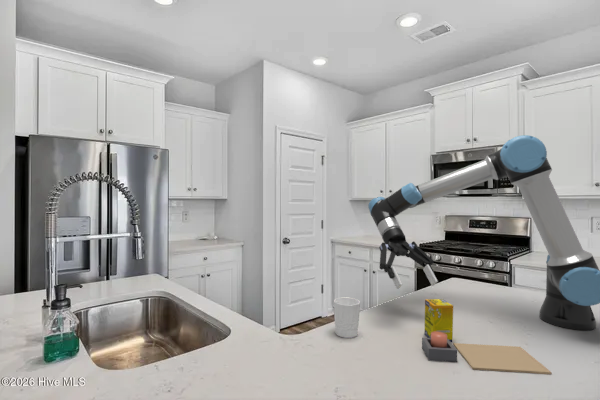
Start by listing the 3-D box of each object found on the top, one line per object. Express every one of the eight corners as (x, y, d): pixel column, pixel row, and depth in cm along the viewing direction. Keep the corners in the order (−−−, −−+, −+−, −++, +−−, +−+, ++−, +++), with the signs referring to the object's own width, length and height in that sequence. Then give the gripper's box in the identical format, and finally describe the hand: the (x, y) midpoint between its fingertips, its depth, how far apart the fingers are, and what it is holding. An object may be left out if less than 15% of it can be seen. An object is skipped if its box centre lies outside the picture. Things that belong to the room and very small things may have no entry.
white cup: (359, 340, 100) (359, 306, 100) (332, 337, 102) (332, 304, 102) (359, 329, 108) (360, 298, 108) (334, 327, 110) (335, 296, 109)
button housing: (448, 349, 95) (448, 338, 95) (457, 362, 88) (457, 350, 88) (421, 348, 95) (422, 337, 95) (428, 360, 88) (428, 348, 88)
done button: (444, 344, 93) (444, 331, 93) (449, 351, 89) (449, 337, 89) (429, 343, 94) (429, 331, 94) (433, 350, 90) (433, 337, 90)
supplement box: (423, 334, 105) (424, 299, 105) (442, 334, 105) (443, 298, 105) (433, 343, 99) (433, 305, 99) (453, 342, 99) (453, 304, 99)
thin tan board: (520, 348, 96) (520, 346, 96) (551, 374, 82) (551, 372, 82) (453, 344, 98) (453, 343, 98) (472, 369, 84) (472, 367, 84)
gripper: (415, 238, 131) (442, 288, 117) (357, 240, 123) (379, 294, 109) (425, 226, 126) (454, 276, 112) (364, 227, 118) (388, 281, 104)
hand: (417, 285), depth 111 cm, fingers open, 13 cm apart
